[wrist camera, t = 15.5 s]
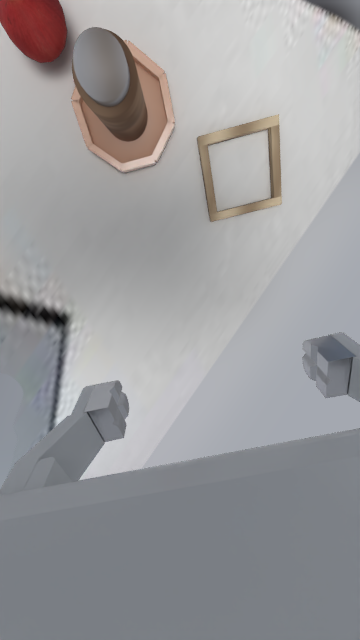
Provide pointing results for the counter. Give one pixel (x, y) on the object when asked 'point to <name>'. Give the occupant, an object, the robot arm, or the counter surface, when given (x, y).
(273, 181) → the holder frame
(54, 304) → the counter surface
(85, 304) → the counter surface
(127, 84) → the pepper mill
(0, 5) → the onion
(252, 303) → the counter surface
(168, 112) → the dish
